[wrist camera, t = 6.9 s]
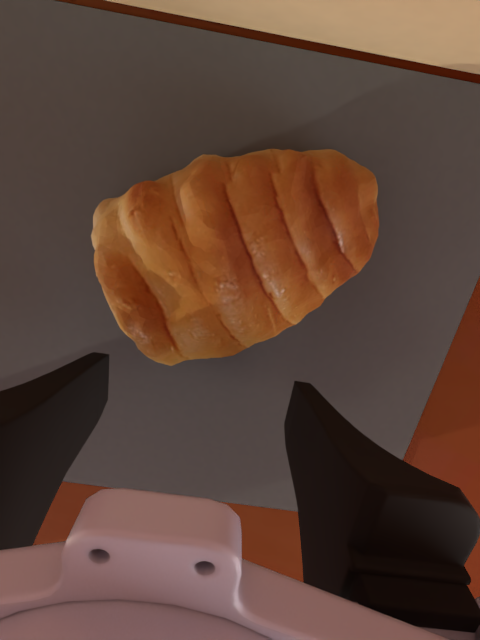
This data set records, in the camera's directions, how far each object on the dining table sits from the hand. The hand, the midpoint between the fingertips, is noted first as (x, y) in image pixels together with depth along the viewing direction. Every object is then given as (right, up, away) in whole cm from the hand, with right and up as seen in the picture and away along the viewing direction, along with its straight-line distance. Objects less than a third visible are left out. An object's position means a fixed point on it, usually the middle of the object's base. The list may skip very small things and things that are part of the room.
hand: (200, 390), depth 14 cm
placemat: (0, +3, +1) cm, 3 cm away
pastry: (+1, +6, 0) cm, 6 cm away
